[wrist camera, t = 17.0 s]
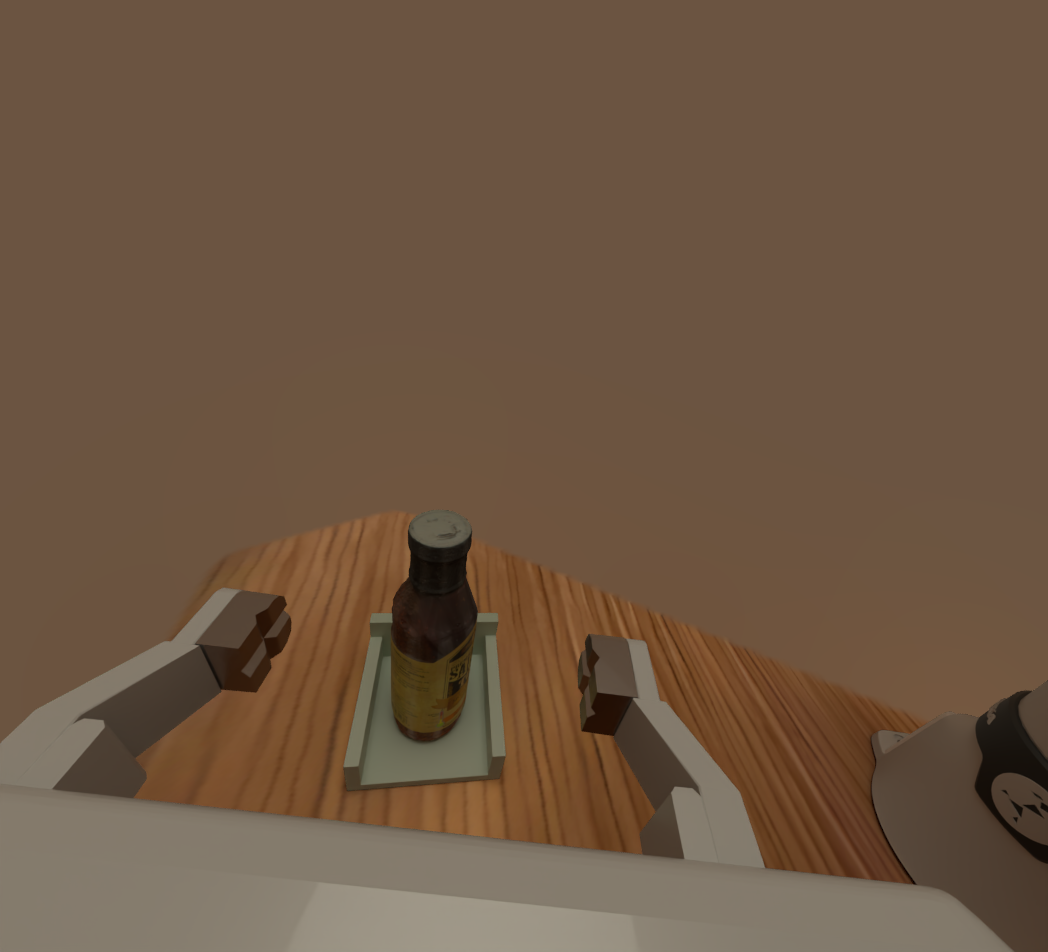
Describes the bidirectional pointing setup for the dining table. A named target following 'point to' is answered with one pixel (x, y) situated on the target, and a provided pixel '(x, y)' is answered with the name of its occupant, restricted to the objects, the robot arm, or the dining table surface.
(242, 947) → the robot arm
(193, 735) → the dining table surface
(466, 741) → the caddy
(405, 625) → the sauce bottle
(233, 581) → the dining table surface
